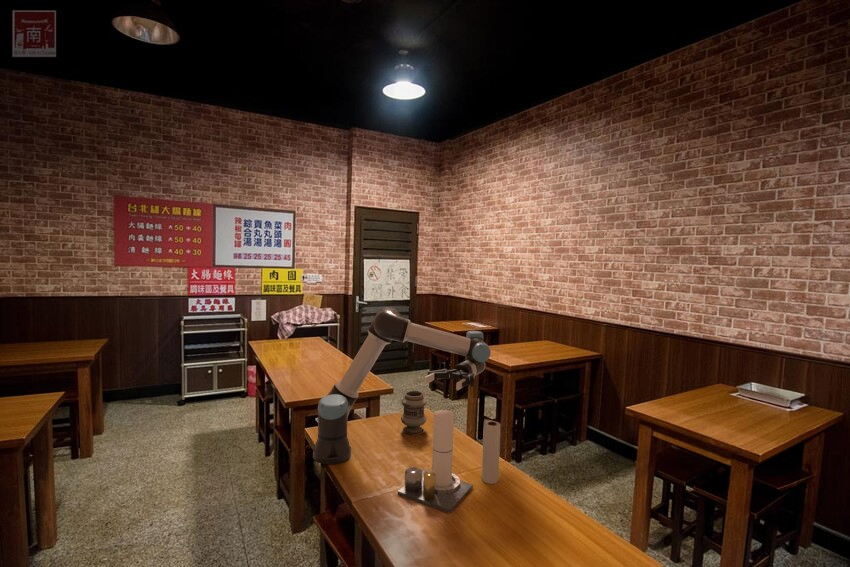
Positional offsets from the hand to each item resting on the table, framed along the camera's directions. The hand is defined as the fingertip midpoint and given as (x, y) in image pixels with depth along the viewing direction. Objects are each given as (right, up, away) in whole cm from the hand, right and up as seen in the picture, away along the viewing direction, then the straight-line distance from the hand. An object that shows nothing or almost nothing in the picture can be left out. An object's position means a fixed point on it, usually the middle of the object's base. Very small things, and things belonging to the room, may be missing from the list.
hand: (440, 383), depth 158 cm
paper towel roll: (+18, -35, -3) cm, 39 cm away
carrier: (-2, -35, -12) cm, 37 cm away
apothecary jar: (-11, -32, +39) cm, 52 cm away
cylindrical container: (0, -34, -9) cm, 35 cm away
